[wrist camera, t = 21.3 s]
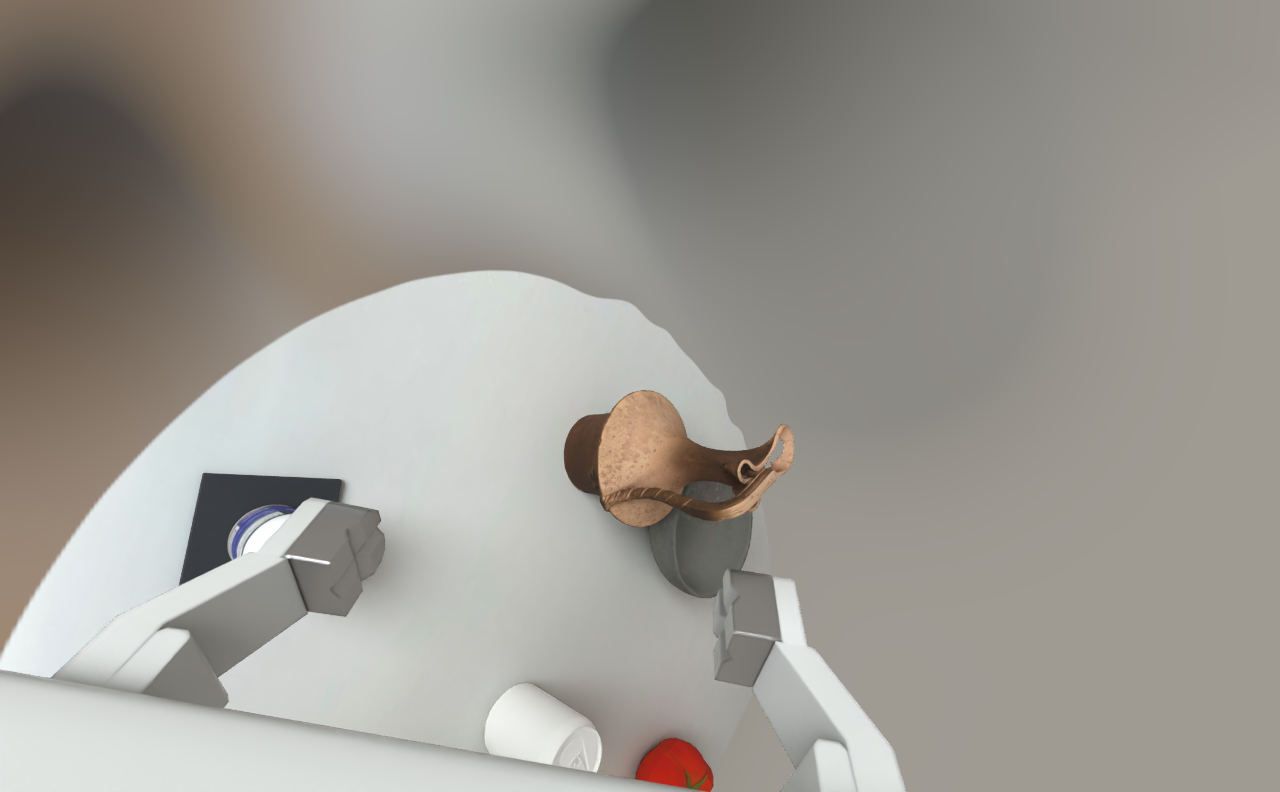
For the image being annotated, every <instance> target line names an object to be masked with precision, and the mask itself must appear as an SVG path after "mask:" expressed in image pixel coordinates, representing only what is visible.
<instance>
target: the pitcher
mask: <svg viewBox="0 0 1280 792" xmlns="http://www.w3.org/2000/svg"><path fill="white" fill-rule="evenodd" d="M778 438H780V439H781V440H782V441H783V444H784V447H783V449H784V451H783V453H782V456H781V457H780V458H779V459H778V458H777V460H776V461H775V462H771V466H772V467H770V468H767V469H765V468H764V466H765V464H766V462H767V461H768V459H769V457H770V455H771V454H772V452H773V450H774V449H775V446H776V444H777V441H778ZM793 459H794V438H793V434H792V431H791V429H790V428H789V426H788V425H785V424H781V425H780V426H779V428H778V429H777V431H776V432H775V434H774V435H773V437H772V438H771V439H770V440H769V441H768V442H767V443H765V444H764V445H762V446H760V447H757V448H754V449H750V450H742V451H723V450H715V449H710V448H706V447H703V446H701V445H699V444H697V443H695V442H693V441H691V440H690V439H689V438H687V434H686V430H685V427H684V424H683V421H682V419H681V417H680V415H679V413H678V411H677V410H676V408H675V407H674V405H673V404H672V403H671V402H670V401H669V400H668V399H667V398H666V397H664V396H663V395H661V394H659V393H657V392H654V391H646V390H641V391H636V392H632V393H630V394H628V395H627V396H625V397H623V398H622V399H621V400H620V401H619V402H618V403H617V404H616V405H615V406H614V408H613V409H612V411H611V412H610V413H606V414H599V415H595V414H594V415H588V416H585V417H583V418H581V419H580V420H578V421H577V422H576V424H575V425H574V426H573V427H572V429H571V430H570V432H569V434H568V436H567V439H566V443H565V448H564V462H565V469H566V472H567V475H568V477H569V479H570V480H571V482H572V483H573V484H574V485H575V487H577V488H578V489H580V490H582V491H583V492H587V493H593V494H596V495H599V496H600V502H601V504H602V506H603V508H604V510H605V511H609V512H611V514H612V515H613V516H614V517H615V518H616V519H618V520H619V521H621V522H622V523H624V524H627V525H629V526H633V527H646V526H649V525H652V524H654V523H656V522H658V521H660V520H661V519H663V518H664V517H665V516H666V515H667V514H668V513H669V512H670V511H671V510H672V508H673V507H675V508H677V509H679V510H681V511H683V512H685V513H686V514H688V515H690V516H692V517H695V518H699V519H702V520H707V521H723V520H728V519H732V518H735V517H737V516H740V515H742V514H743V513H745V512H746V511H749V512H752V511H754V510H755V509H756V508H757V507H758V505H759V503H760V497H761V496H762V494H763V493H764V492H765V491H766V490H767V489H768V488H769V487H770V486H771V485H772V484H773V483H774V482H775V481H776V479H777V477H779V476H781V475H783V474H785V473H786V472H787V471H788V470H789V468H790V466H791V465H792V463H793ZM697 481H712V482H719V483H723V484H726V485H728V486H731V487H732V492H733V494H734V495H735V496H734V497H733V498H731V499H729V500H726V501H723V502H705V501H701V500H697V499H694V498H693V499H691V498H689V497H688V496H682V495H681V493H682V491H683V488H684V486H686V485H687V484H690V483H693V482H697Z"/></svg>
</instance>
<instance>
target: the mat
mask: <svg viewBox="0 0 1280 792" xmlns="http://www.w3.org/2000/svg"><path fill="white" fill-rule="evenodd" d="M340 485H341V480H340V479H323V478H301V477H279V476H257V475H235V474H213V473H203V475H202V480H201V484H200V489H199V494H198V499H197V503H196V508H195V513H194V517H193V522H192V527H191V532H190V536H189V541H188V546H187V550H186V555H185V560H184V565H183V569H182V574H181V579H180V583H179V586H180V585H182V584H184V583H186V582H188V581H190V580H192V579H194V578H196V577H198V576H201V575H203V574H205V573H207V572H209V571H211V570H213V569H215V568H217V567H219V566H221V565H223V564H226V563H228V562H230V561H232V559H231V558H230V556H229V553H228V538H229V535H230V532H231V530H232V529H233V527H234V526H235V524H236V523H237V522H238V521H239V520H240V519H241V518H242V517H243V516H244V515H246V514H247V513H249V512H250V511H252V510H254V509H257V508H259V507H263V506H267V505H285V506H289V507H291V508H294V509H297V508H298V507H299V506H300V505H301V504H302V503H303V502H304V501H306V500H308V499H309V498H317V499H322V500H328V501H333V502H338V497H339V491H340Z"/></svg>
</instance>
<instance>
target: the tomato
mask: <svg viewBox="0 0 1280 792" xmlns="http://www.w3.org/2000/svg"><path fill="white" fill-rule="evenodd" d="M636 780H642V781H648V782H654V783H659V784H665V785H671V786H677V787H682V788H688V789H694V790H700V791H705V792H710V791H711V790H712V788H713V774H712V771H711V768H710V767H709V766H708V764H707V763H706V762H705V760H704V759H703V757H702V755H701V754H700V752H699V751H698V750H697V749H696V748H695V747H694V746H693V745H691V744H690V743H688V742H686V741H683V740H680V739H677V738H670V739H666V740H663V741H662V742H660V743H659V745H658V746H657V747H656V748H654V749H653V750H652V751H650V752H649V753H648V754H647V755H646V756H645V758H644V759H643V760H642V762H641V764H640V766H639V768H638V770H637V772H636Z"/></svg>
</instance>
